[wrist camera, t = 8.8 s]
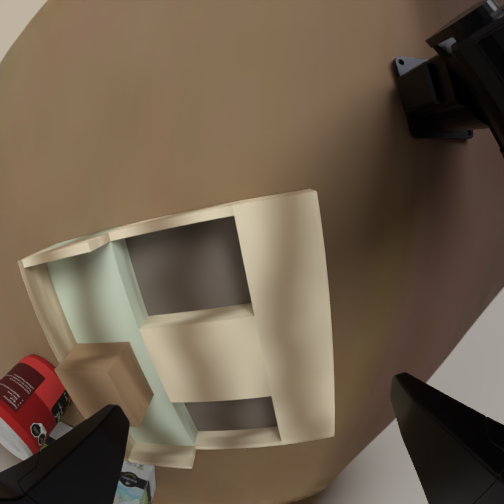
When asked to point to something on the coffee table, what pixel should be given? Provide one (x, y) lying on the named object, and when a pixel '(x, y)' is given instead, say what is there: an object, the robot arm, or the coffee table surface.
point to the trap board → (204, 321)
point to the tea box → (122, 475)
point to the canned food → (30, 405)
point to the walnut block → (106, 379)
